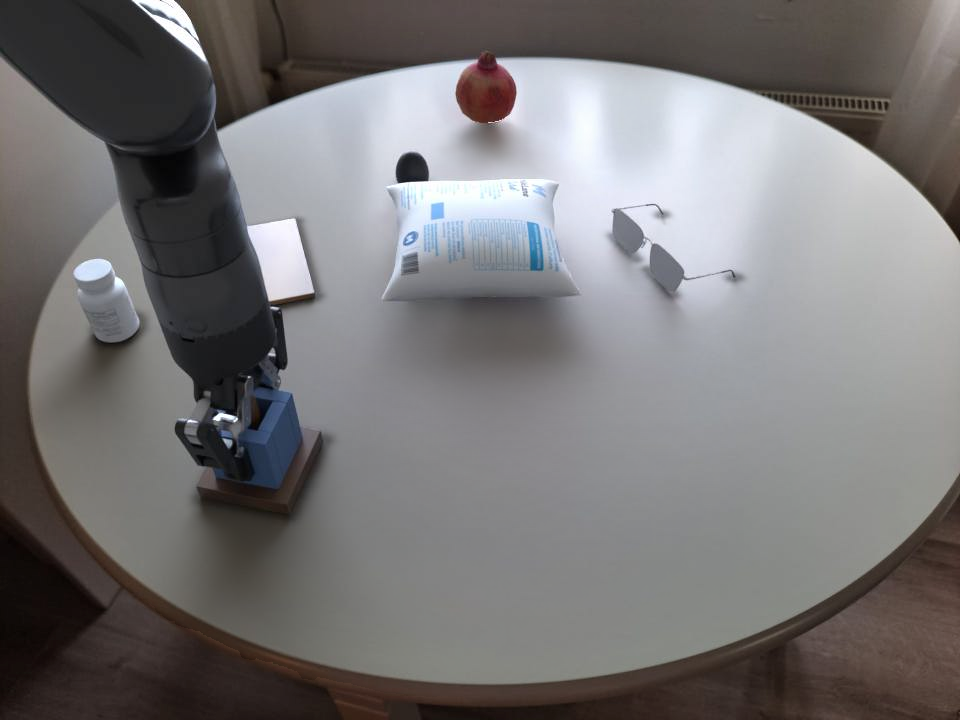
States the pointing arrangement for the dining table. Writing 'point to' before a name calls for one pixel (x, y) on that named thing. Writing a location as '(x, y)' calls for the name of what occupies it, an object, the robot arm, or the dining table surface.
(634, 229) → the eyeglasses
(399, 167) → the black rounded dome
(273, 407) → the blue pencil cup
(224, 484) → the dowel stand
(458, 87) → the fruit
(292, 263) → the wooden board
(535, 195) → the pouch
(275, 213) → the dining table surface
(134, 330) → the pill bottle
